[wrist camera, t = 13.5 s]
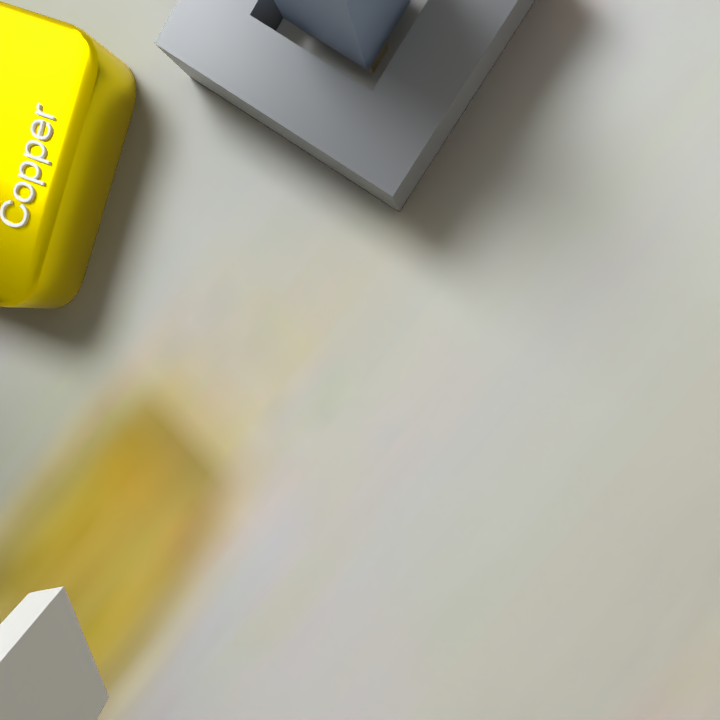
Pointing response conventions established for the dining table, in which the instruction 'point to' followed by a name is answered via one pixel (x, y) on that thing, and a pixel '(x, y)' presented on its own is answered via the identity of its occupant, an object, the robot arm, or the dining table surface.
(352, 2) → the plug
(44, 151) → the element tile
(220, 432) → the dining table surface
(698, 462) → the dining table surface
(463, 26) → the socket
